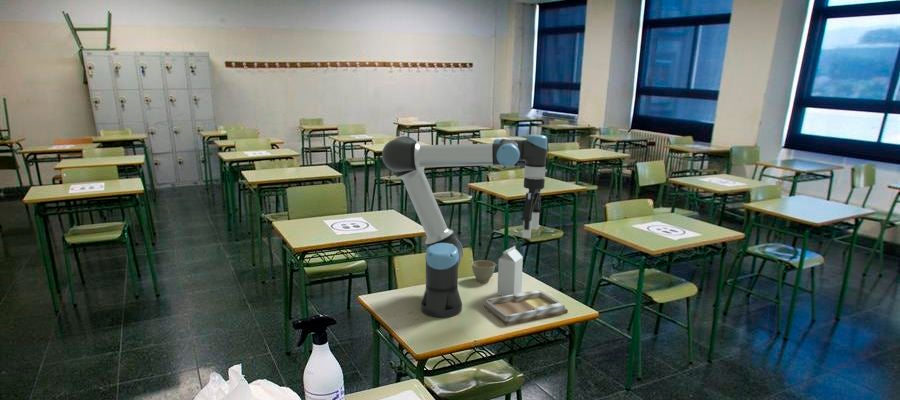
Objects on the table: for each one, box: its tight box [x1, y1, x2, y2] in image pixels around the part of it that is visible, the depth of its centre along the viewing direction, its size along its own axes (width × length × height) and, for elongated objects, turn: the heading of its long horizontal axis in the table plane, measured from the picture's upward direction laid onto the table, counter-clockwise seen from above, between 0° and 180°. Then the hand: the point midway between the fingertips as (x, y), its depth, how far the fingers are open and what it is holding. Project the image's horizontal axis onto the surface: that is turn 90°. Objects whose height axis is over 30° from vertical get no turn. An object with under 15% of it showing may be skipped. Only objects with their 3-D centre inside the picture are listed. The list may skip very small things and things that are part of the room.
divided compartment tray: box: [483, 289, 569, 326], centre depth 189 cm, size 26×16×3 cm, turn 115°
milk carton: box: [496, 245, 524, 297], centre depth 203 cm, size 7×7×19 cm
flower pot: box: [471, 259, 496, 283], centre depth 219 cm, size 10×10×7 cm
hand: (530, 233), depth 194 cm, fingers open, 13 cm apart
